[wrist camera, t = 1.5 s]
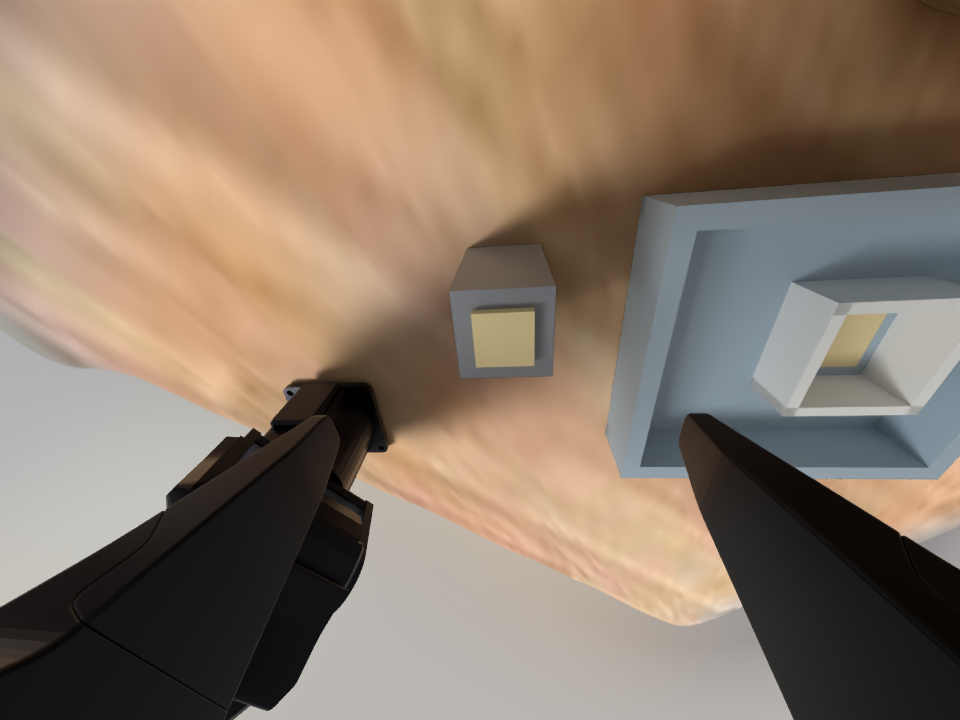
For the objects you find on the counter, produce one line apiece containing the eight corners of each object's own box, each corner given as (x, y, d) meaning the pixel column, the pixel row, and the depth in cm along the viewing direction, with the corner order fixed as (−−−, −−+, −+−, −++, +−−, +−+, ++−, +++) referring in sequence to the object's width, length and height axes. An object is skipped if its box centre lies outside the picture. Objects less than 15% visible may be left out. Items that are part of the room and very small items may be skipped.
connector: (539, 311, 20) (553, 381, 14) (473, 314, 21) (459, 383, 14) (540, 243, 18) (557, 289, 12) (467, 247, 19) (447, 295, 12)
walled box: (874, 431, 23) (937, 479, 20) (605, 433, 25) (621, 477, 22) (1064, 164, 15) (1227, 167, 12) (642, 195, 17) (676, 206, 13)
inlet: (866, 382, 21) (917, 414, 18) (749, 384, 21) (781, 416, 19) (934, 275, 17) (1009, 295, 15) (791, 282, 18) (838, 303, 15)
